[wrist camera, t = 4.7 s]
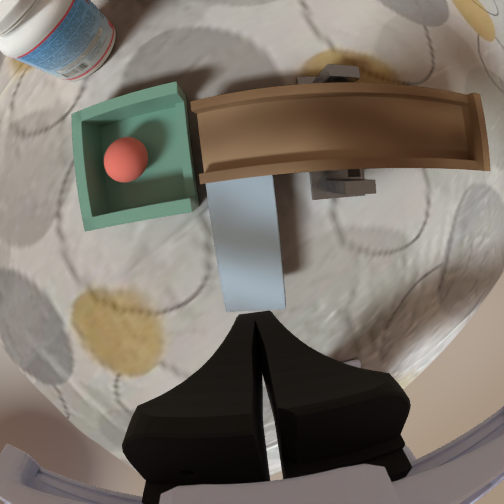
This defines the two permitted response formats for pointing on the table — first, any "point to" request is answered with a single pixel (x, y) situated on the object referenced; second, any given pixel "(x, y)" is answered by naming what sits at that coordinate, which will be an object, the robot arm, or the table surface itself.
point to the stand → (338, 180)
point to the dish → (159, 157)
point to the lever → (315, 159)
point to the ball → (126, 159)
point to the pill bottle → (56, 36)
